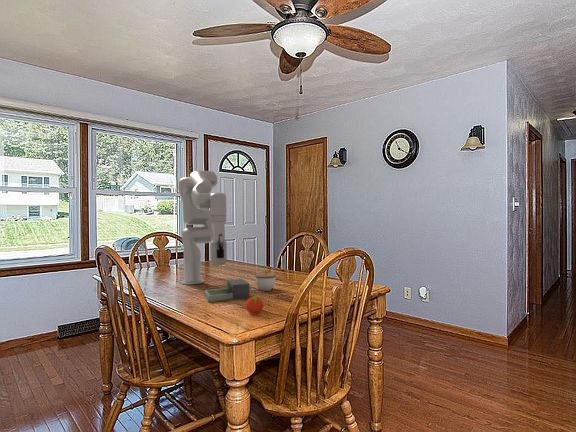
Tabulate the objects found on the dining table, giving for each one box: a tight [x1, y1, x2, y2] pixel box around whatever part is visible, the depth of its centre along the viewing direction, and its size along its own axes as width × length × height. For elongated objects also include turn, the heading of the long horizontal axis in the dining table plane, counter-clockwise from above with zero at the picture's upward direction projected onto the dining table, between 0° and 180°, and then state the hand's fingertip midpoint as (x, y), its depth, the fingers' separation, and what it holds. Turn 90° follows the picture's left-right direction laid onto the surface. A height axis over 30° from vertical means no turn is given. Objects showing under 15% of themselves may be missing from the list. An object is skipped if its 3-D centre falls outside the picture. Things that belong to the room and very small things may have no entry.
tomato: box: [245, 295, 264, 315], centre depth 144 cm, size 8×7×7 cm
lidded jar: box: [254, 270, 277, 292], centre depth 188 cm, size 11×11×9 cm
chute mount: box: [203, 278, 250, 303], centre depth 171 cm, size 12×19×7 cm, turn 112°
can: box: [209, 239, 228, 266], centre depth 170 cm, size 8×8×12 cm
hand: (218, 256), depth 170 cm, fingers closed on can, 7 cm apart
